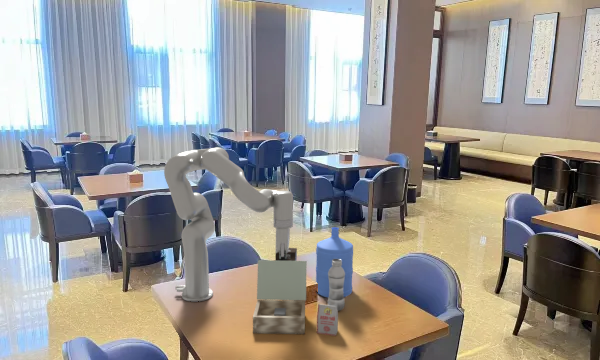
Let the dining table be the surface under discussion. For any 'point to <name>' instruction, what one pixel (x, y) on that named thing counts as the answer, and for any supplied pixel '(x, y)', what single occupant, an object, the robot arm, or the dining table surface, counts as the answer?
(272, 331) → the box
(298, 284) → the lid
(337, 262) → the plastic bottle
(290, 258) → the coffee box
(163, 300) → the dining table surface
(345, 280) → the water jug
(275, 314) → the block
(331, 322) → the tea bag
